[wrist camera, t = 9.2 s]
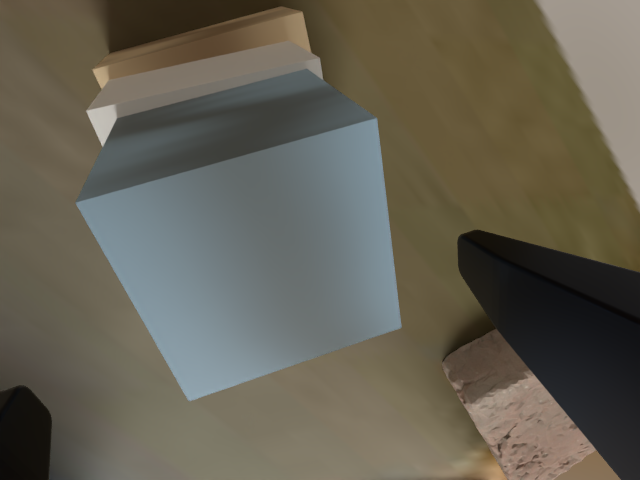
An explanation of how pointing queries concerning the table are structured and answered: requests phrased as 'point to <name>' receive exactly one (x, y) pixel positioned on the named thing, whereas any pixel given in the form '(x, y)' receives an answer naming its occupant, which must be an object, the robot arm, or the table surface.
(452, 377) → the brick
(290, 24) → the oak slab
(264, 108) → the blue cube
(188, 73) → the white slab
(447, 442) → the table surface
